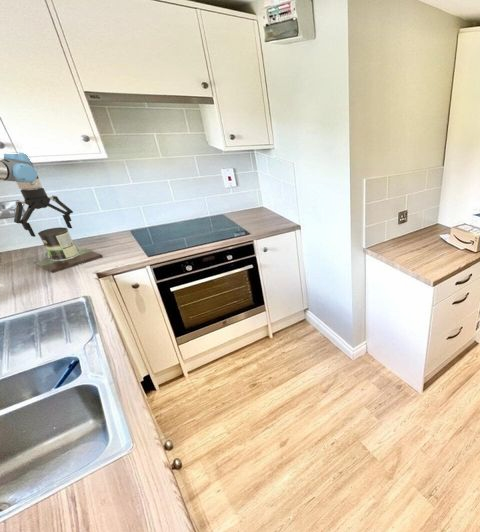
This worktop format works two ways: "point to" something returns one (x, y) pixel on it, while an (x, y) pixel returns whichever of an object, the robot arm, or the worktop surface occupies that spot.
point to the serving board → (69, 261)
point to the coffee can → (58, 244)
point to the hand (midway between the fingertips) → (52, 231)
